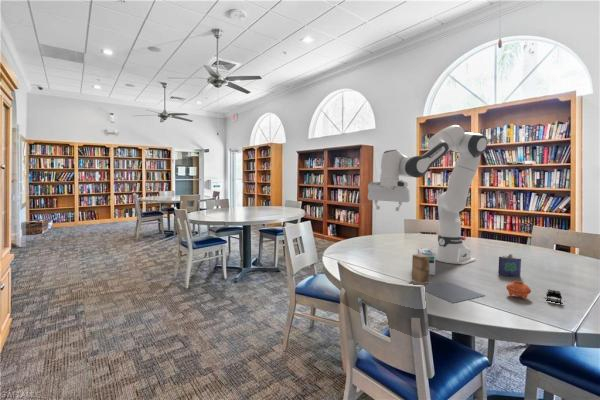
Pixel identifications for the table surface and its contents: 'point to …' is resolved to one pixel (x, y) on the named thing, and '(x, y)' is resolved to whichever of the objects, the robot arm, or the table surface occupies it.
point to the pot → (518, 289)
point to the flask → (509, 266)
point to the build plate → (554, 294)
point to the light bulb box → (431, 259)
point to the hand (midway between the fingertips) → (387, 210)
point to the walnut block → (420, 268)
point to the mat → (451, 292)
